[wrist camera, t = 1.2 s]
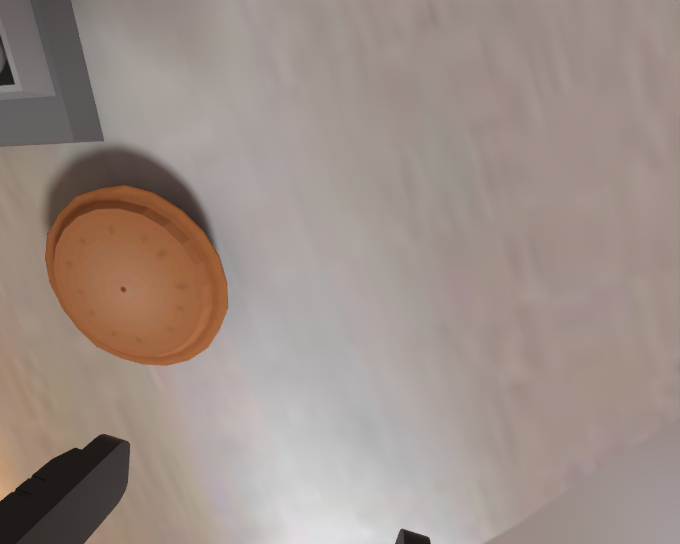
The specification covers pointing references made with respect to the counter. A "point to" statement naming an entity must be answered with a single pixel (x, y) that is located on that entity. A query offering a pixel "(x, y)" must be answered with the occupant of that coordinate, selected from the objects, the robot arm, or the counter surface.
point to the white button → (2, 55)
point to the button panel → (44, 76)
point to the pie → (136, 275)
